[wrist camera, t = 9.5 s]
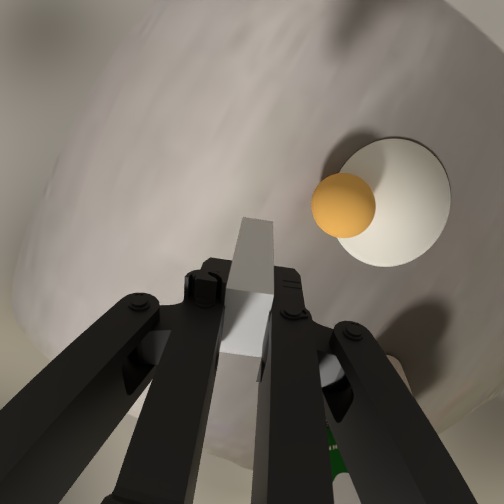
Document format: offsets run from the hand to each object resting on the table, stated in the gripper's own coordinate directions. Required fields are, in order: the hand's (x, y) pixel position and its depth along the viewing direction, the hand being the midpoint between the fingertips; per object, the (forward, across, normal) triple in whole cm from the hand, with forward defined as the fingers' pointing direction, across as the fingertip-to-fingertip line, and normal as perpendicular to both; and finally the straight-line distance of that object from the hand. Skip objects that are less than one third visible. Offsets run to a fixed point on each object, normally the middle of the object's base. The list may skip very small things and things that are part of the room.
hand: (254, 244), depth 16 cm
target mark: (+14, -13, 0) cm, 19 cm away
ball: (+11, -7, 0) cm, 13 cm away
